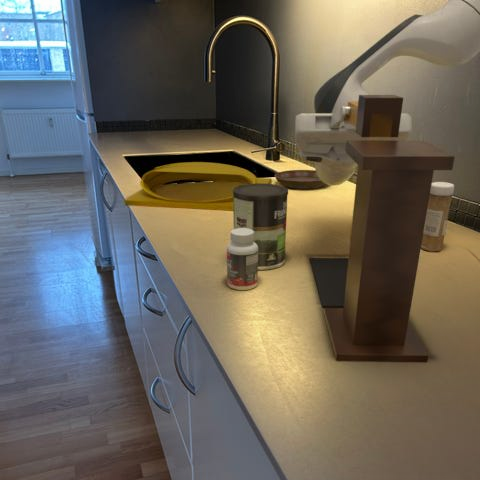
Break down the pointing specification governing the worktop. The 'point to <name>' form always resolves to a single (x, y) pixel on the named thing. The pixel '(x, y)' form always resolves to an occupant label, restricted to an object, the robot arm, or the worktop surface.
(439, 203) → the spice jar
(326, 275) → the mat
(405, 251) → the pedestal
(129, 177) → the worktop surface
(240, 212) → the coffee can
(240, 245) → the pill bottle
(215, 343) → the worktop surface
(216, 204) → the mold
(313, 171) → the plant saucer
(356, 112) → the brown and tan bar
